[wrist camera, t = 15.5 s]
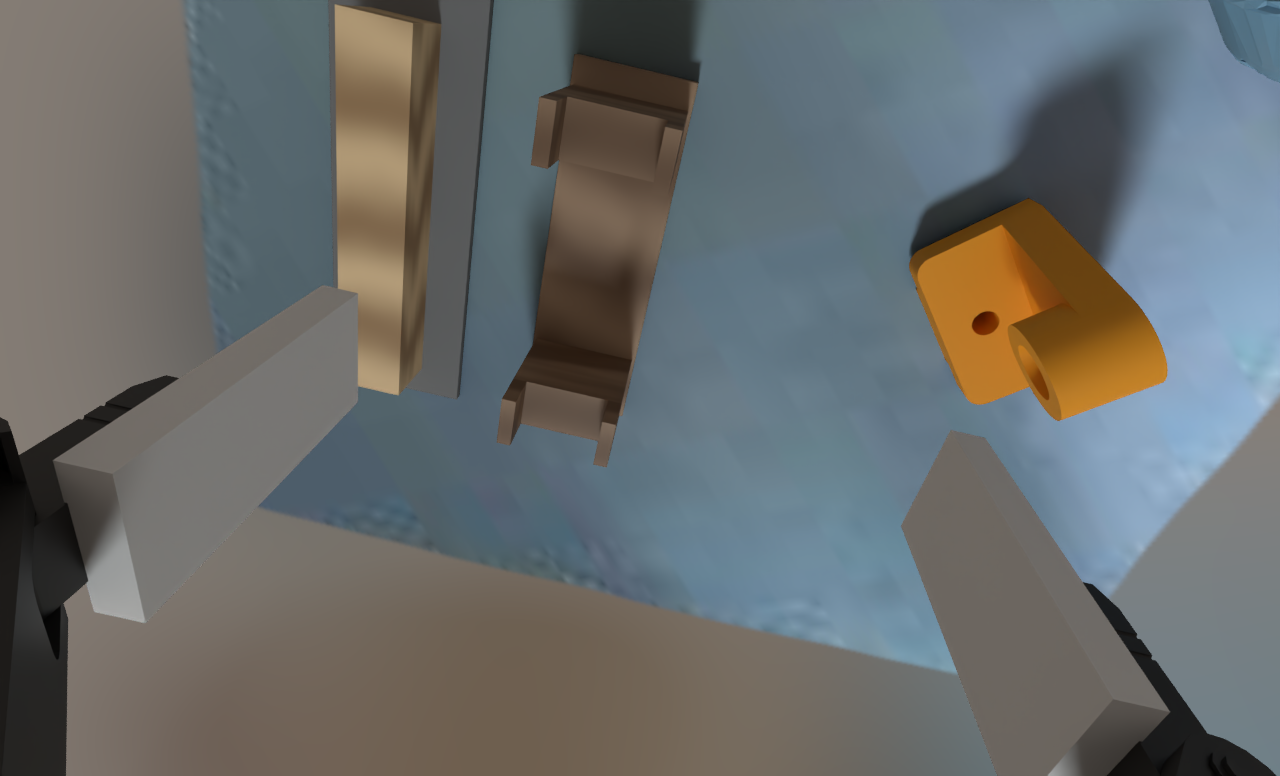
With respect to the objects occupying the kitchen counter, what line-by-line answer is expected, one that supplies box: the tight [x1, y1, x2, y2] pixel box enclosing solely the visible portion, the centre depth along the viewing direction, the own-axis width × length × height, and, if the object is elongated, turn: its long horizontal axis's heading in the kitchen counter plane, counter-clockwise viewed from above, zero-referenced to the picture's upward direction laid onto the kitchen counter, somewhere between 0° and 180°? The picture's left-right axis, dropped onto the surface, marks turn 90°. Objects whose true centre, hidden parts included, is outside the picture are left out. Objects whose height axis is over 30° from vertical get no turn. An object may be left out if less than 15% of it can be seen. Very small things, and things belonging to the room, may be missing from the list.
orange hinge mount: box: [909, 198, 1167, 421], centre depth 37 cm, size 11×7×12 cm, turn 30°
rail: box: [335, 4, 441, 395], centre depth 40 cm, size 22×4×4 cm, turn 168°
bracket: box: [497, 54, 699, 467], centre depth 39 cm, size 22×7×10 cm, turn 168°
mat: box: [328, 0, 494, 399], centre depth 42 cm, size 26×9×1 cm, turn 168°
